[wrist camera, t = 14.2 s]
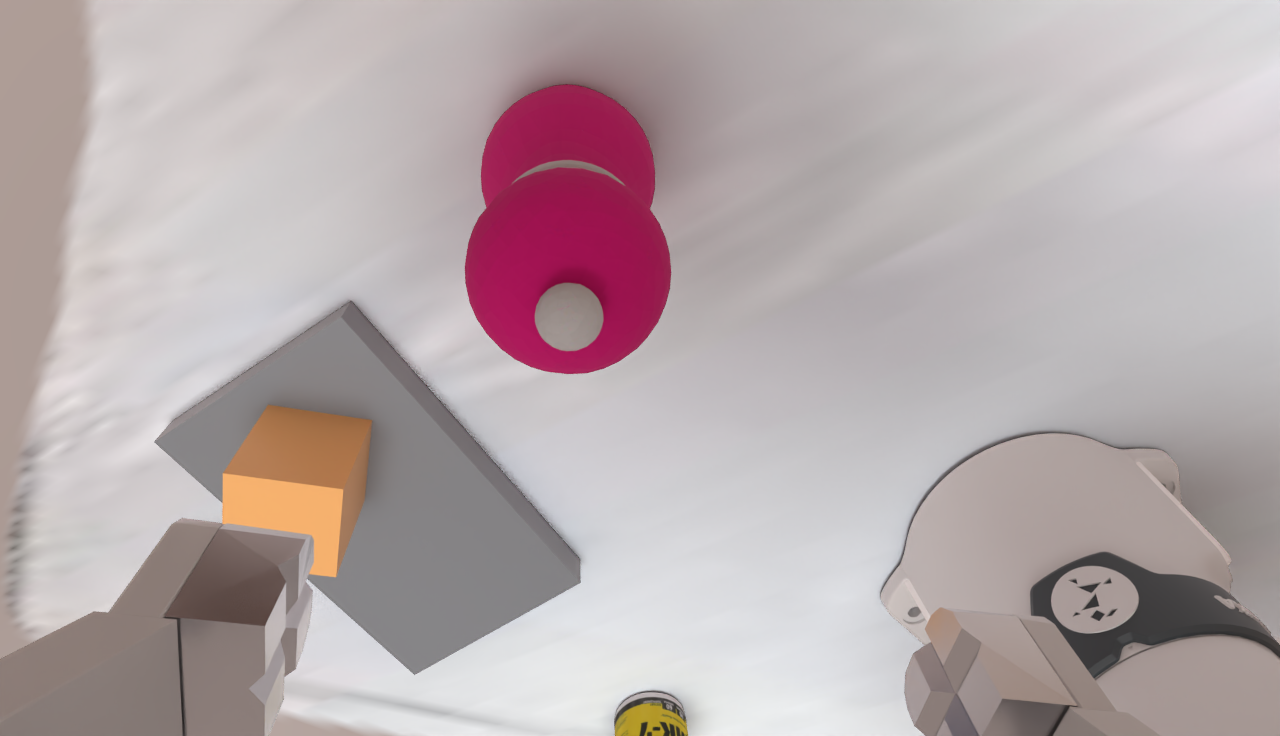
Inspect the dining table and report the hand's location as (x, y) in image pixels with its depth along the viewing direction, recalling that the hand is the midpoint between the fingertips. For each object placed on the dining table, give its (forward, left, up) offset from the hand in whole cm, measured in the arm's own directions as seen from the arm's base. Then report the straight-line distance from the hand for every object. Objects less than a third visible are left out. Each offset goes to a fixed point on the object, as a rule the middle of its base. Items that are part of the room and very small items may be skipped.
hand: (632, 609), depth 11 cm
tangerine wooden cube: (-5, +20, -29) cm, 35 cm away
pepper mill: (0, +1, -31) cm, 31 cm away
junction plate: (-10, +20, -31) cm, 38 cm away
